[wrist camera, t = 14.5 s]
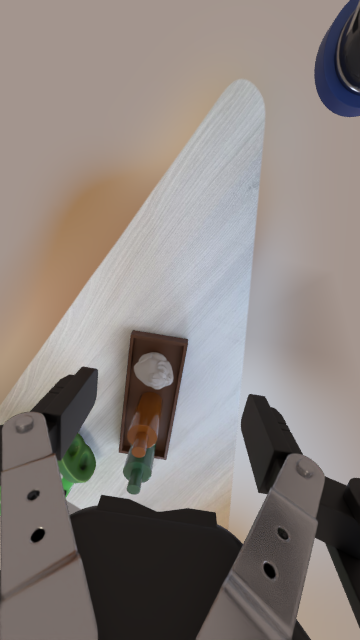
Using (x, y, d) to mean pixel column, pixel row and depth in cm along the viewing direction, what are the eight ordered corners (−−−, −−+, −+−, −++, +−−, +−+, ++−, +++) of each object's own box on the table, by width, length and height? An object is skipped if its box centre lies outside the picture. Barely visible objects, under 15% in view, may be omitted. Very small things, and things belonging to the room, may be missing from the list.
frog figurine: (171, 377, 46) (168, 400, 39) (135, 369, 46) (126, 391, 39) (178, 350, 44) (176, 369, 37) (141, 341, 44) (133, 359, 37)
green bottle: (148, 420, 49) (135, 473, 38) (162, 436, 50) (154, 493, 39) (129, 431, 50) (112, 486, 39) (144, 446, 51) (131, 504, 40)
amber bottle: (152, 387, 47) (140, 434, 35) (167, 405, 48) (161, 455, 36) (133, 399, 48) (115, 448, 36) (148, 416, 49) (136, 469, 37)
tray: (133, 330, 44) (130, 334, 42) (187, 339, 44) (187, 343, 42) (121, 444, 52) (118, 452, 50) (167, 451, 52) (166, 460, 50)
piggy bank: (109, 454, 53) (79, 531, 39) (44, 478, 56) (-6, 558, 42) (73, 405, 49) (27, 471, 35) (6, 433, 52) (-63, 505, 38)
